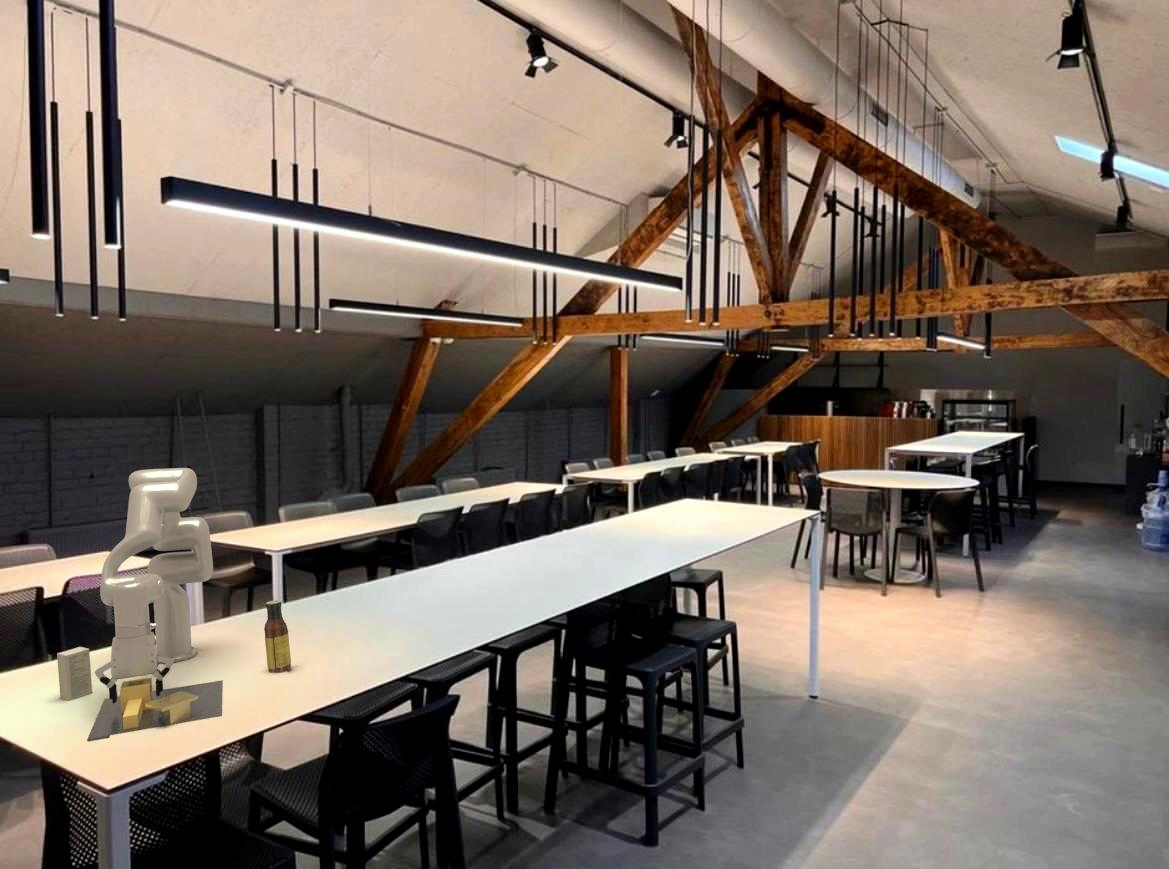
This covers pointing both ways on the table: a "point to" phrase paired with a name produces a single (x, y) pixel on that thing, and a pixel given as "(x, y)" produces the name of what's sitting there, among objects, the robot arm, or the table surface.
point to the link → (135, 700)
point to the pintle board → (157, 717)
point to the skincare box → (74, 673)
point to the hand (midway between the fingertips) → (136, 698)
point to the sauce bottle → (276, 639)
